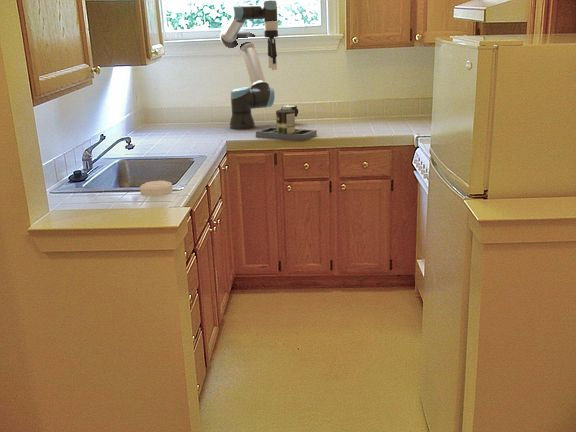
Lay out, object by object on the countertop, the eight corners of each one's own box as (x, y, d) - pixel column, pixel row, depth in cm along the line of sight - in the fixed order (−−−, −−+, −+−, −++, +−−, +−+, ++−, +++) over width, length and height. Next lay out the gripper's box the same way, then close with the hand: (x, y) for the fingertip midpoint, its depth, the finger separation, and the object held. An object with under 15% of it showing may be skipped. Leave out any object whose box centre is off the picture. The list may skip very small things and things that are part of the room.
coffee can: (277, 138, 329) (276, 112, 324) (276, 135, 339) (274, 109, 334) (296, 137, 330) (295, 111, 325) (294, 134, 340) (293, 109, 335)
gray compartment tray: (255, 137, 336) (255, 131, 335) (270, 132, 348) (270, 127, 347) (303, 140, 321) (302, 135, 320) (316, 135, 333) (316, 130, 332)
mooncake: (174, 187, 239) (173, 179, 238) (170, 196, 227) (169, 186, 226) (143, 189, 238) (142, 180, 237) (138, 197, 227) (137, 188, 226)
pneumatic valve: (293, 125, 369) (292, 105, 365) (280, 123, 378) (280, 103, 374) (300, 124, 372) (299, 104, 369) (287, 122, 381) (286, 102, 377)
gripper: (261, 29, 350) (263, 67, 356) (267, 30, 326) (268, 70, 333) (274, 29, 351) (276, 67, 357) (280, 29, 327) (282, 70, 334)
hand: (272, 69), depth 345 cm, fingers open, 13 cm apart
